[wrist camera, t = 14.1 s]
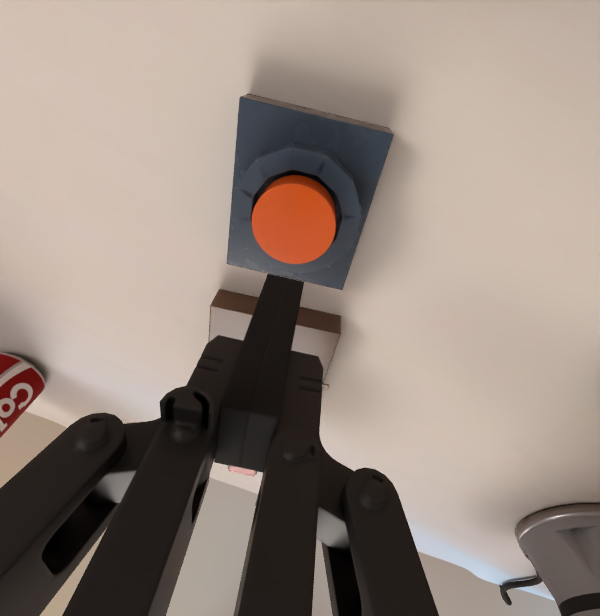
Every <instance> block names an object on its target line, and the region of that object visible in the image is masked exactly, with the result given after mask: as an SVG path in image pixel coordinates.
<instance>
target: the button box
mask: <svg viewBox="0 0 600 616" xmlns="http://www.w3.org/2000/svg"><path fill="white" fill-rule="evenodd" d="M393 135H394V134H393V133H392V131H391V130H390V128H387V127H383V126H379V125H375V124H371V123H367V122H362V121H358V120H354V119H350V118H346V117H342V116H338V115H334V114H330V113H326V112H321V111H317V110H313V109H309V108H305V107H301V106H297V105H293V104H289V103H285V102H280V101H276V100H272V99H268V98H264V97H260V96H256V95H252V94H247V95H244V96H241V97H240V100H239V113H238V126H237V139H236V151H235V164H234V177H233V190H232V203H231V215H230V228H229V241H228V254H227V264H229V265H233V266H238V267H242V268H247V269H251V270H256V271H260V272H265V273H269V274H274V275H278V276H283V277H287V278H291V279H296V280H300V281H305V282H309V283H314V284H318V285H323V286H327V287H332V288H336V289H340V290H342V289H343V286H344V283H345V280H346V277H347V274H348V271H349V268H350V265H351V262H352V259H353V256H354V253H355V250H356V247H357V244H358V241H359V238H360V235H361V232H362V229H363V226H364V223H365V220H366V217H367V214H368V211H369V208H370V205H371V202H372V199H373V196H374V193H375V190H376V187H377V184H378V181H379V178H380V175H381V172H382V169H383V166H384V163H385V160H386V156H387V153H388V150H389V147H390V144H391V141H392V138H393ZM290 175H300V176H305V177H309V178H311V179H313V180H315V181H317V182H318V183H320V184H321V185H322V186H324V187H325V189H326V190H327V191H328V192H329V194H330V195H331V197H332V199H333V201H334V204H335V208H336V232H335V236H334V239H333V241H332V243H331V245H330V247H329V248H328V250H327V251H326V252H325V253H324V254H322V255H321V256H320V257H318V258H317V259H315V260H313V261H310V262H307V263H303V264H289V263H284V262H281V261H279V260H276V259H274V258H273V257H271V256H270V255H268V254H267V253H266V252H265V251H264V250H263V249H262V248H261V247H260V245H259V244H258V242H257V240H256V238H255V236H254V233H253V229H252V214H253V210H254V207H255V205H256V203H257V201H258V199H259V198H260V196H261V194H262V193H263V191H264V190H265V189H266V188H267V187H268V185H270V184H271V183H272V182H273V181H275V180H277V179H279V178H282V177H285V176H290Z"/></svg>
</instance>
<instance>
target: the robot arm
mask: <svg viewBox="0 0 600 616" xmlns="http://www.w3.org/2000/svg"><path fill="white" fill-rule="evenodd" d="M303 285H304V282H301V281H297V280H293V279H288V278H284V277H280V276H275V275H271V274H268V275H267V278H266V280H265V283H264V286H263V289H262V291H261V294H260V297H259V299H258V302H257V305H256V308H255V310H254V313H253V316H252V318H251V321H250V324H249V327H248V329H247V332H246V335H245V337H244V340H239V339H234V338H230V337H225V336H221V335H218V336H216V337H215V338H214V339H213V340H211V341H210V342H209V343H208V344H207V345H206V347H205V349H204V351H203V353H202V356H201V357H200V359H199V361H198V363H197V367H196V368H195V370H194V372H193V374H192V376H191V378H190V380H189V382H188V384H187V386H184V387H180V388H176V389H174V390H172V391H171V392H169V393H167V394H166V395H165V396H164V397H163V399H162V400H161V401H160V411H161V418H159V419H156V420H153V421H148V422H139V423H127V424H123V423H122V421H121V420H120V419H119V418H118V417H116V416H115V415H112V414H108V413H95V414H91V415H88V416H85V417H83V418H80V419H79V420H78V421H76V422H75V423H73V424H72V425H70V426H69V427H68V428H67V429H66V430H65V431H64V432H63V433H62V434H60V435H59V436H58V437H57V438H56V439H55V440H54V441H53V442H51V443H50V444H49V445H48V446H47V447H46V448H45V449H44V450H43V451H41V453H39V454H38V455H37V456H36V457H35V458H34V459H33V460H31V461H30V462H29V463H28V464H27V465H26V466H25V467H24V468H23V469H21V470H20V471H19V472H18V473H17V474H16V475H15V476H14V477H13V478H11V479H10V480H9V481H8V482H7V483H6V484H5V485H4V486H3V487H1V488H0V616H39V615H40V614H41V613H42V612H43V610H44V609H45V608H46V606H47V605H48V604H49V602H50V601H51V600H52V598H53V597H54V596H55V595H56V593H57V592H58V591H59V589H60V588H61V587H62V585H63V584H64V583H65V582H66V580H67V579H68V578H69V576H70V575H71V574H72V572H73V571H74V570H75V568H76V567H77V566H78V565H79V563H80V562H81V560H82V559H83V558H84V557H85V555H86V554H87V553H88V552H89V550H90V549H91V548H92V546H93V545H94V544H95V542H96V541H97V540H98V538H99V537H100V536H101V534H102V533H103V532H104V531H105V529H106V528H107V529H106V531H105V533H104V535H103V537H102V539H101V541H100V543H99V545H98V547H97V549H96V551H95V553H94V555H93V557H92V559H91V561H90V563H89V565H88V567H87V569H86V570H85V573H84V574H83V576H82V578H81V580H80V582H79V584H78V586H77V588H76V590H75V592H74V594H73V596H72V598H71V600H70V602H69V604H68V606H67V608H66V610H65V611H64V613H63V615H62V616H166V613H167V609H168V607H169V604H170V600H171V597H172V594H173V591H174V588H175V585H176V582H177V579H178V576H179V573H180V570H181V566H182V563H183V560H184V557H185V554H186V551H187V548H188V545H189V542H190V539H191V535H192V532H193V529H194V526H195V523H196V520H197V517H198V514H199V511H200V508H201V504H202V502H203V498H204V495H205V492H206V489H207V486H208V483H209V475H210V470H211V467H212V464H213V461H214V462H216V463H220V464H225V465H230V466H235V467H239V468H244V469H249V470H254V471H258V472H263V476H262V481H261V486H260V490H259V493H258V498H257V501H256V508H255V513H254V518H253V523H252V528H251V533H250V538H249V542H248V547H247V552H246V557H245V562H244V567H243V572H242V577H241V582H240V587H239V591H238V597H237V601H236V606H235V611H234V616H312V600H313V583H314V568H315V551H316V550H315V549H316V539H318V540H320V541H321V542H322V548H323V555H324V561H325V567H326V574H327V581H328V587H329V594H330V601H331V607H332V614H333V616H439V615H438V611H437V609H436V606H435V603H434V600H433V597H432V594H431V591H430V588H429V585H428V582H427V579H426V576H425V573H424V570H423V567H422V564H421V561H420V558H419V555H418V552H417V549H416V546H415V543H414V540H413V537H412V534H411V532H410V529H409V526H408V523H407V520H406V517H405V514H404V511H403V508H402V505H401V502H400V499H399V496H398V493H397V491H396V489H395V487H394V485H393V483H392V482H391V481H390V480H389V479H388V478H387V477H386V476H385V475H384V474H382V473H380V472H379V471H377V470H375V469H370V468H362V469H358V470H356V471H355V472H354V471H353V470H351V469H349V468H347V467H346V466H344V465H342V464H340V463H339V462H337V461H336V460H334V459H333V458H331V457H330V455H329V454H328V453H327V452H326V451H325V449H324V448H323V446H322V444H321V441H320V436H319V427H320V412H321V397H322V394H321V393H322V381H323V366H322V364H321V361H320V359H319V357H318V356H315V355H310V354H306V353H301V352H297V351H292V350H291V349H292V343H293V338H294V333H295V327H296V322H297V317H298V311H299V306H300V301H301V295H302V290H303ZM214 458H215V460H214ZM515 535H516V538H517V540H518V543H519V546H520V548H521V549H522V551H523V553H524V555H525V556H526V557H527V558H528V559H529V560H530V561H531V562H532V564H533V566H534V567H535V569H536V573H537V577H535V578H533V579H530V580H523V581H515V582H509V583H506V584H504V585H499V587H500V589H501V590H500V592H501V595H502V598H503V600H504V601H505V602H506V603H507V604H508V605H511V604H512V602H511V600H510V598H509V596H508V594H507V592H506V591H507V590H508V589H511V588H518V587H527V586H533V585H537V584H539V583H541V582H542V580H543V582H544V583H545V585H546V586H547V588H548V589H549V591H550V592H551V594H552V595H553V597H554V599H555V601H556V603H557V605H558V608H559V610H560V613H561V615H562V616H600V504H575V505H566V506H559V507H554V508H550V509H546V510H543V511H540V512H537V513H535V514H532V515H530V516H528V517H527V518H525V519H524V520H522V521H521V522H520V523H519V524H518V525H517V527H516V529H515Z"/></svg>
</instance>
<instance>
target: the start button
mask: <svg viewBox="0 0 600 616" xmlns="http://www.w3.org/2000/svg"><path fill="white" fill-rule="evenodd" d="M252 229H253V233H254V236H255V238H256V240H257V242H258V244H259V245H260V247H261V248H262V249H263V250H264V251H265V252H266V253H267V254H268V255H270V256H271V257H273V258H274V259H276V260H279V261H281V262H284V263H289V264H303V263H307V262H310V261H313V260H315V259H317V258H318V257H320V256H321V255H322V254H324V253H325V252H326V251H327V250H328V248H329V247H330V245H331V243H332V241H333V239H334V236H335V232H336V208H335V204H334V201H333V199H332V197H331V195H330V194H329V192H328V191H327V190H326V189H325V187H324V186H322V185H321V184H320V183H318V182H317V181H315V180H313V179H311V178H309V177H305V176H300V175H290V176H285V177H282V178H279V179H277V180H275V181H273V182H272V183H271V184H270V185H268V187H267V188H266V189H265V190H264V191H263V193H262V194H261V196H260V198H259V199H258V201H257V203H256V205H255V207H254V210H253V214H252Z"/></svg>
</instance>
